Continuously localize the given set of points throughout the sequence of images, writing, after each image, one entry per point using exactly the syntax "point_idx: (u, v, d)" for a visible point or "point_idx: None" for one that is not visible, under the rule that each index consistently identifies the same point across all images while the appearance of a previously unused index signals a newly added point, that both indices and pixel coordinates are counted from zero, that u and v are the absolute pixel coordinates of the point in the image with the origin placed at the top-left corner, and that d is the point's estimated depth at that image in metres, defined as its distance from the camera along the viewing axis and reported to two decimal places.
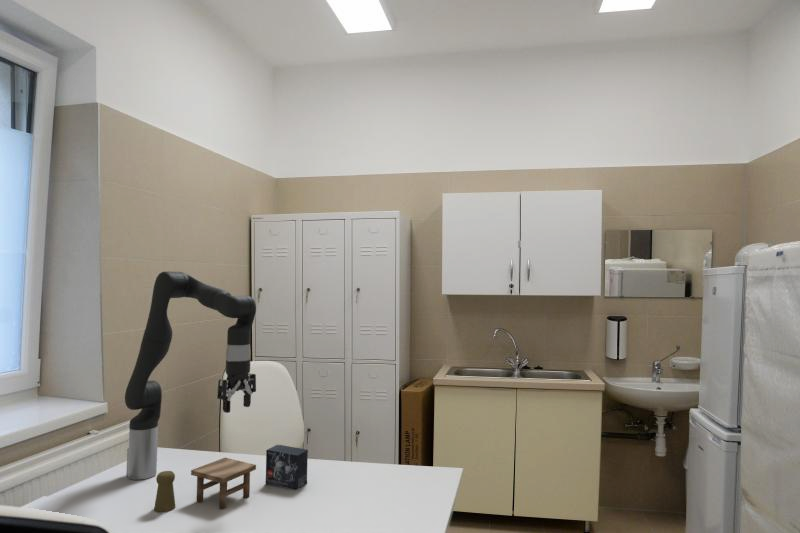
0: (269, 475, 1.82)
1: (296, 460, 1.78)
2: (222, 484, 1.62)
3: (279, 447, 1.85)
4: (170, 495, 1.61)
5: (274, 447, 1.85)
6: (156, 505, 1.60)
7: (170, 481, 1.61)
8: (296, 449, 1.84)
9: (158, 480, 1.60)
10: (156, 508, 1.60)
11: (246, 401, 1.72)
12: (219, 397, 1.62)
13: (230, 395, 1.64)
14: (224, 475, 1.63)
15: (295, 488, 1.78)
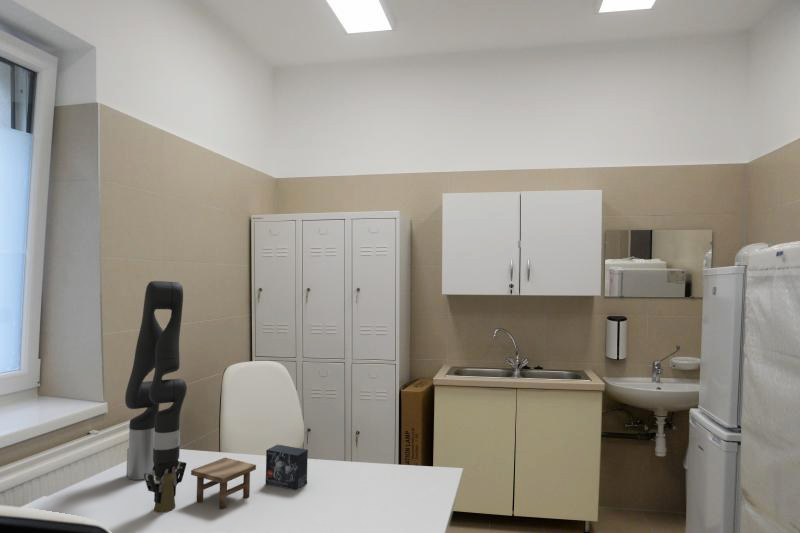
0: (269, 475, 1.82)
1: (296, 460, 1.78)
2: (222, 484, 1.62)
3: (279, 447, 1.85)
4: (170, 495, 1.61)
5: (274, 447, 1.85)
6: (156, 505, 1.60)
7: (170, 481, 1.61)
8: (296, 449, 1.84)
9: (158, 480, 1.60)
10: (156, 508, 1.60)
11: None
12: (150, 490, 1.58)
13: (161, 486, 1.59)
14: (224, 475, 1.63)
15: (295, 488, 1.78)
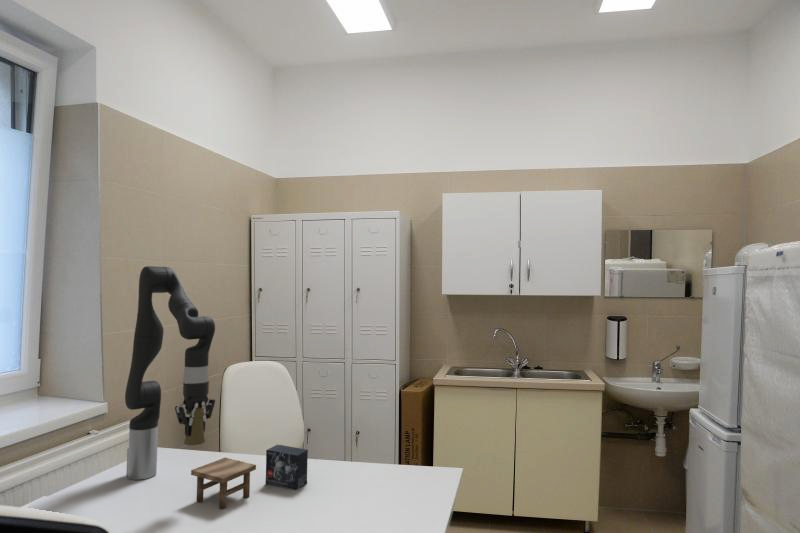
0: (269, 475, 1.82)
1: (296, 460, 1.78)
2: (222, 484, 1.62)
3: (279, 447, 1.85)
4: (200, 429, 1.65)
5: (274, 447, 1.85)
6: (186, 438, 1.64)
7: (200, 415, 1.64)
8: (296, 449, 1.84)
9: (188, 414, 1.64)
10: (186, 441, 1.63)
11: None
12: (181, 423, 1.62)
13: (191, 419, 1.63)
14: (224, 475, 1.63)
15: (295, 488, 1.78)
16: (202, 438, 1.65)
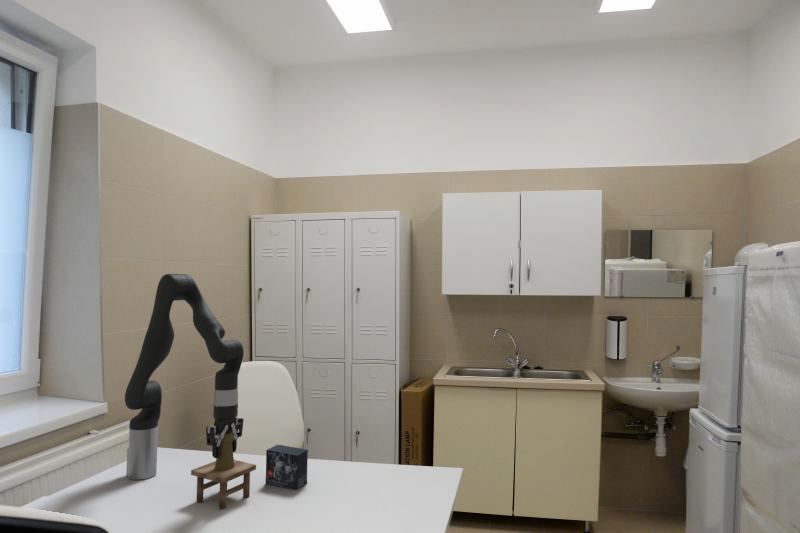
0: (269, 475, 1.82)
1: (296, 460, 1.78)
2: (222, 484, 1.62)
3: (279, 447, 1.85)
4: (230, 454, 1.69)
5: (274, 447, 1.85)
6: (217, 463, 1.68)
7: (230, 441, 1.69)
8: (296, 449, 1.84)
9: None
10: (217, 466, 1.68)
11: None
12: (208, 444, 1.65)
13: (219, 441, 1.67)
14: (224, 475, 1.63)
15: (295, 488, 1.78)
16: (232, 463, 1.70)
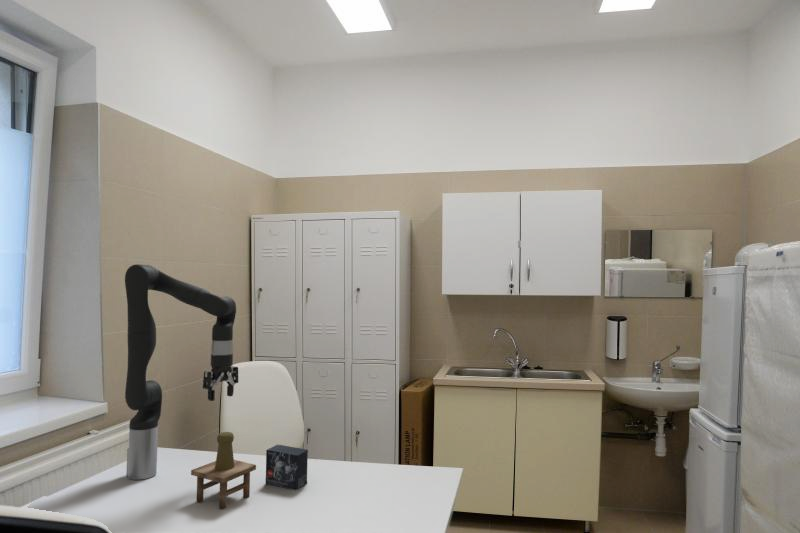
0: (269, 475, 1.82)
1: (296, 460, 1.78)
2: (222, 484, 1.62)
3: (279, 447, 1.85)
4: (230, 454, 1.69)
5: (274, 447, 1.85)
6: (217, 463, 1.68)
7: (230, 441, 1.69)
8: (296, 449, 1.84)
9: (219, 440, 1.68)
10: (217, 466, 1.68)
11: (229, 391, 1.92)
12: (204, 387, 1.82)
13: (214, 385, 1.84)
14: (224, 475, 1.63)
15: (295, 488, 1.78)
16: (232, 463, 1.70)
